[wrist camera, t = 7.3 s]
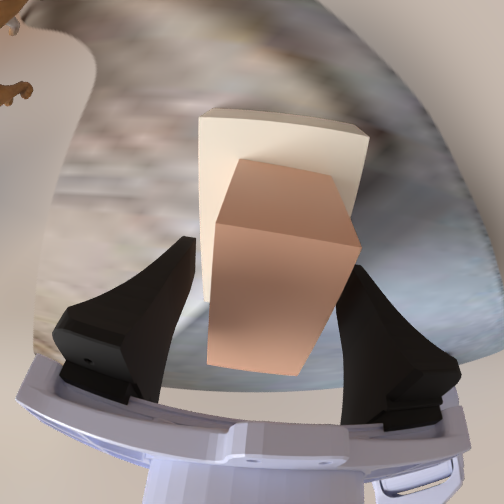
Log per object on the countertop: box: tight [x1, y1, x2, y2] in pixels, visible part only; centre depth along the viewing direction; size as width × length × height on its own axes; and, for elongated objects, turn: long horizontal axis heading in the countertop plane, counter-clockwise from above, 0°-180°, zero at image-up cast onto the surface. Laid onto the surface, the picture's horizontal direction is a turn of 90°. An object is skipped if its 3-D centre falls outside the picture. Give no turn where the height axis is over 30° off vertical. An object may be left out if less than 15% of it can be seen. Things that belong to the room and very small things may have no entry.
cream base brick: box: [199, 108, 370, 302], centre depth 17 cm, size 8×12×4 cm, turn 176°
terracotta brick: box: [207, 159, 362, 376], centre depth 13 cm, size 4×8×6 cm, turn 172°
